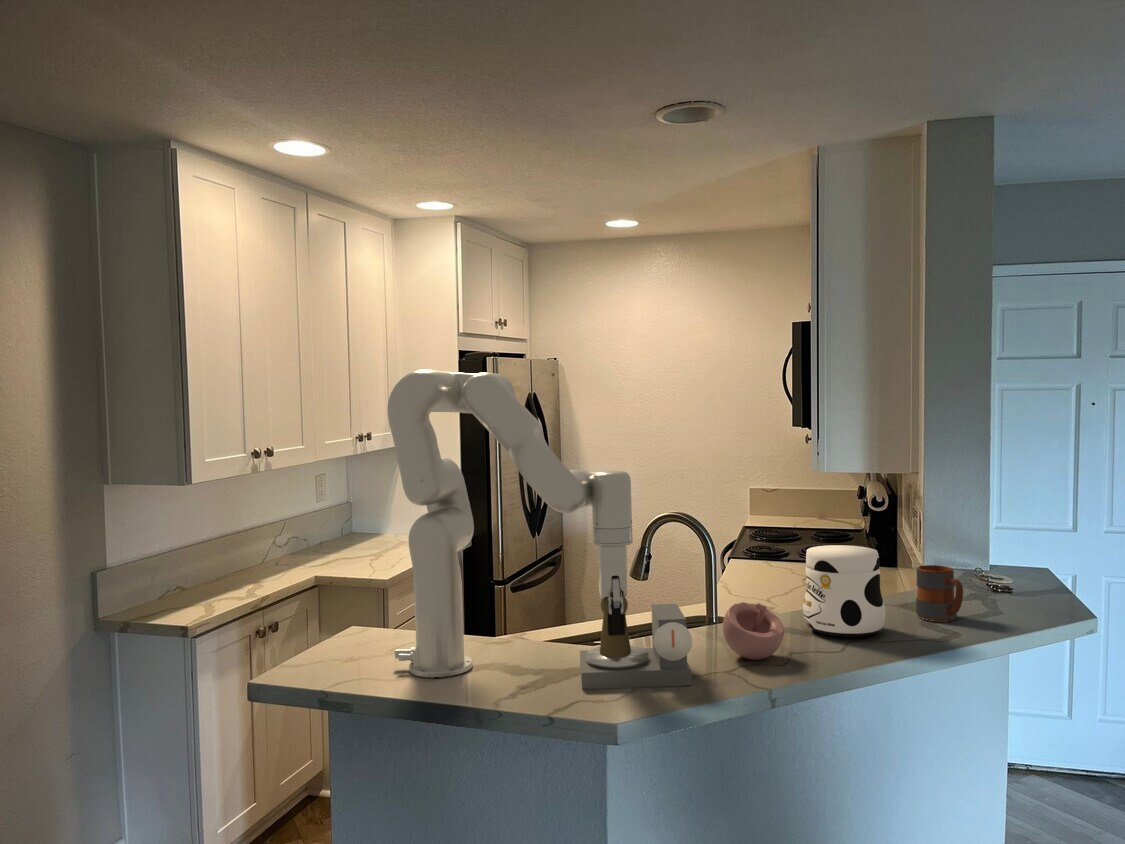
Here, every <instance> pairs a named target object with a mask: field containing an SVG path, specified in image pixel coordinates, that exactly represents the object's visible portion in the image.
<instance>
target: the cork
mask: <svg viewBox="0 0 1125 844" xmlns="http://www.w3.org/2000/svg"><path fill="white" fill-rule="evenodd" d="M610 597H613V594H612V595H610ZM620 597H621V596H620ZM612 602H613V601H611V604H612ZM628 607H629V604H628V599H627V598H626V597H625V598H623V610H624V613H625V614H626V612H627V610H628ZM600 609H601V611H602V613H603V617H602V626H601V636H600V646H599V647H600V654H601V655H603V656H606V657H613V658H617V657H625V656H627V655H629V654H630V653H631V648H630V646H631V642H630V636H629V631H628V624H627V617H626V615H625V635H611V636H610V635H608V619H607V614H609V607H608V597H604V599H602V598H601V600H600Z"/></svg>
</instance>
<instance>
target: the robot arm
mask: <svg viewBox="0 0 1125 844" xmlns="http://www.w3.org/2000/svg"><path fill="white" fill-rule="evenodd" d="M431 413H456V414H457V413H458V414H459V413H461V414H472V415H473V416H474V417H475V418H476V419H477V420H478V422H479V423H480V424H481V425H482V426H483V427H484V428H485V429H486V430H487V431H488V432H489V433H490V434H491V435H492V437H494V439H495V440H496V441H497V442H498V443H499V444H500V446H501V447H503V449H504V450H505V452H507V453H508V456H509V457H510V459H511V461H512V462H513V464H514V465H515V467H516V469H517V470H518V472H519V473H520V475H521V476H522V478H523V479H524V480H525V481H526V483H527V484H528V485H529V486H530V488H532V490H534V492H535V493H536V494H537V495H538V496H539V497H540V498H541V500H542V501H543V502H544V503H545V504H546V505H548V506H549V507H550V508H551V509H553V510H554V511H555V512H558V513H562V514H571V513H574V512H577V511H578V510H579V509H582V508H584V507H585V508H586V507H591V510H592V513H591V514H592V539H593V540H592V543H593V545H594V546H598V553H597V554H598V561H597V562H598V592H599V597H600V598H601V600H602V599H604V597H608V607H609V614H607V619H608V635H610V636H611V635H625V616H626V612H625V613H624V610H623V598H626V597H627V592H628V590H627V589H628V550H627V546H630V545H632V544H633V540H634V539H633V516H632V514H633V512H632V509H633V508H632V507H633V506H632V479H631V476H630V474H629V473H628V472H627V471H624V470H623V471H622V470H603V471H588V470H581V469H570V470H569V469H568V468H567V466H565V465H564V463H563V462H562V461H561V460H560V458H558V456H557V455H556V454H555V453H554V452H553V451H552V449H551V448H550V447H549V445H548V443H547V441H546V439H545V436H544V431H543V427H542V424H541V423H540V421H539V420H538V419H537V418H536V417H535V416H534V415H533V414H532V413H531V412H530V411H529V410H528V408H526V406H524V404H523V403H522V402H521V401H520V400H519V399H518V398H517V397H516V391H515V387H514V385H513V384H512V382H511V381H510V380H509V379H508V377H506V376H504V375H502V374H500V373H493V372H485V371H483V372H478V373H469V372H468V373H467V372H466V373H465V372H454V371H452V372H451V371H443V370H442V371H441V370H435V369H417V370H415V371H412V372H409V373H408V374H406V375H404V376H403V377H402V378H401V379H399V380H398V382H397V383H396V384H395V385H394V387H393V388H392V390H391V392H390V395H389V398H388V402H387V419H388V424H389V429H390V432H391V436H392V440H393V444H394V449H395V455H396V459H397V465H398V469H399V473H400V479H401V483H402V487H403V492H404V495H405V496H406V499H408V500H409V502H410V503H412V504H413V505H416V506H420V507H421V506H422V507H425V506H426V509H427V512H425V514H422V515H421V516H419V517H418V518H417V519H416V520H415V521H414V522H413V524H412V525H411V527H410V530H409V533H408V548H409V549H408V550H409V555H410V560H411V565H412V575H413V594H414V620H415V621H414V622H415V646H412V647H411V648H407V649H406V648H396V649H395V650H394V658H395V660H396V659H397V660H398V661H399V662H406V661H410V663H409V664H408V670H409V672H410V673H411V675H414V676H416V677H421V678H429V677H430V678H433V679H434V677H439V678H448V677H454V676H458V675H460V674H464V673H466V672H468V671H470V669H472V667H473V659H472V658H471V657H469V656H467V655H466V654H465V642H464V641H465V639H464V638H465V637H464V636H465V635H464V634H465V631H464V609H463V604H464V603H463V583H462V570H461V566H460V562H459V556H458V551H460V550H462V549H464V548H465V547H466V546H468V545H469V543H470V542H471V541H472V539H473V536H474V531H475V526H474V517H473V513H472V508H471V503H470V500H469V496H468V490H467V485H466V482H465V477H464V475H463V472H462V470H461V468H460V467H459V466H458V464H457V463H456V462H455V461H453V460H452V459H450V458H449V457H445V456H442V455H441V453H440V449H439V444H438V438H437V435H436V432H435V431H436V430H434V426H433V425H432V422H431V420H430V414H431ZM612 594H613V597H610V595H612ZM620 596H621V597H620ZM611 601H613V602H612V604H611ZM447 676H448V677H447Z"/></svg>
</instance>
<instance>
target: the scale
mask: <svg viewBox="0 0 1125 844" xmlns="http://www.w3.org/2000/svg"><path fill="white" fill-rule="evenodd" d="M650 606H651V631H652V635H651V636H652V647H648V648H645V647H644V648H642V647H641V648H642V649H644V650H646V651H647V652H648V654H649V660H648V662H647V663H645V664H644V665H641V666H638V667H634V668H628V669H604V668H598V667H594V666H592V665H590V664H588V663H587V662H586V653H587V652H588V651H589V650H590V649H589V650H585V649H584V650H582V649H581V650H579V666H580V680H581V681H580V682H581V690H601V689H604V690H605V689H606V688H607V689H630V688H633V687H637V688H656V687H657V688H658V687H659V688H662V687H665V686H667V687H684V686H683V685H691V686H692V669H691V667H690V665H689V663H688V654H689V653H690V651H691V650H692V647H693V636H692V634H691V632H690V630H689V628H687V618H686V617H685V615H684V614H683V612H682V610H681V608H680V607H679V605H678V604H677V603H656V604H655V603H654V604H653V603H651V605H650ZM681 685H682V686H681Z"/></svg>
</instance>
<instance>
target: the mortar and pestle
mask: <svg viewBox="0 0 1125 844" xmlns="http://www.w3.org/2000/svg"><path fill="white" fill-rule="evenodd" d="M722 632H723V637H724V639H725V642H726V644H727V645H728V647H729V648H730V649H731V650H732V651H733V652H734V653H735V654H737V655H738V656H739V657H741V658H744V659H747V660H754V661H755V660H756V661H758V660H763V659H766V658H768V657H771V656H772V655H773V654H775V652H777V650H779V649H780V646H781V645H782V643H783V640H784V636H785V632H786V631H785V627H784V624H783V623H782V621H781V620H780V618H779V617H778V616H777V615H776V614H774V613H773V612H771V611H770V610H769V609H768V608H767V606H766V605H763V604H761V603H760V602H756V604H755V603H748V602H743V601H741V602H738V603H734V604H732V605H731V606H730V607H729V608H728V610H727V611H726V613H725V615H724V617H723V621H722Z"/></svg>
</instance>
